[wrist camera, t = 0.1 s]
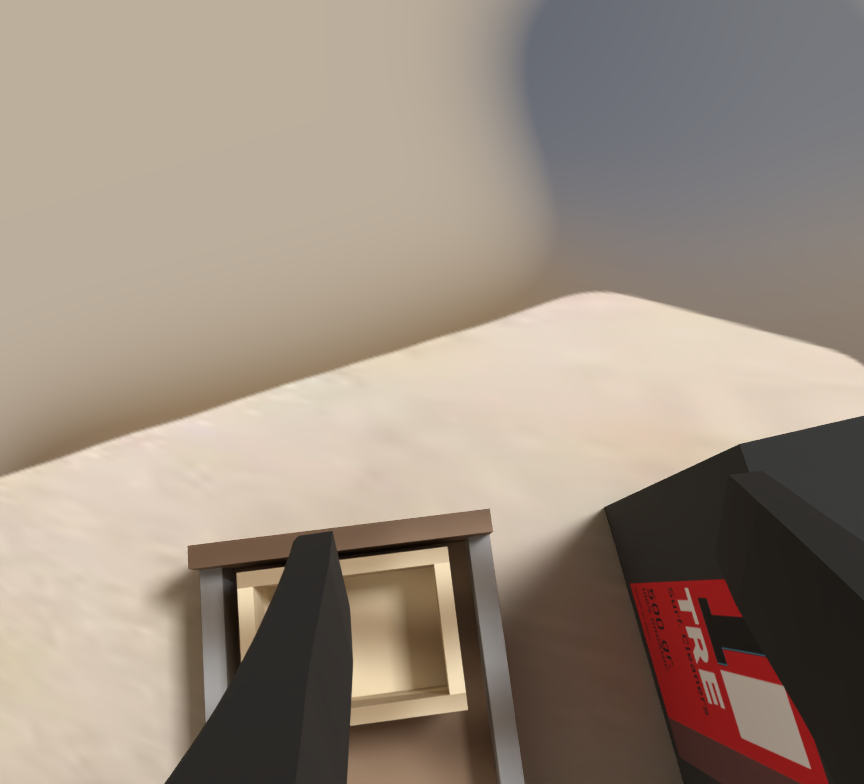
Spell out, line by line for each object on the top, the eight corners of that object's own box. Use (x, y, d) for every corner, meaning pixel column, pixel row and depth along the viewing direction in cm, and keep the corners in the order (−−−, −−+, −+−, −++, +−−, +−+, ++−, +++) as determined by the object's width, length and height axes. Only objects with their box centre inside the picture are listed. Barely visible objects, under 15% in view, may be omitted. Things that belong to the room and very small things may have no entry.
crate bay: (537, 931, 39) (558, 989, 34) (237, 976, 39) (205, 1044, 33) (480, 519, 45) (489, 508, 39) (217, 552, 44) (187, 545, 39)
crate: (462, 696, 41) (468, 710, 37) (265, 722, 41) (245, 740, 36) (444, 551, 43) (447, 546, 39) (256, 575, 43) (236, 572, 38)
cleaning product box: (604, 507, 46) (739, 444, 26) (740, 475, 46) (969, 391, 27) (687, 796, 41) (920, 972, 22) (835, 756, 42) (1187, 895, 23)
